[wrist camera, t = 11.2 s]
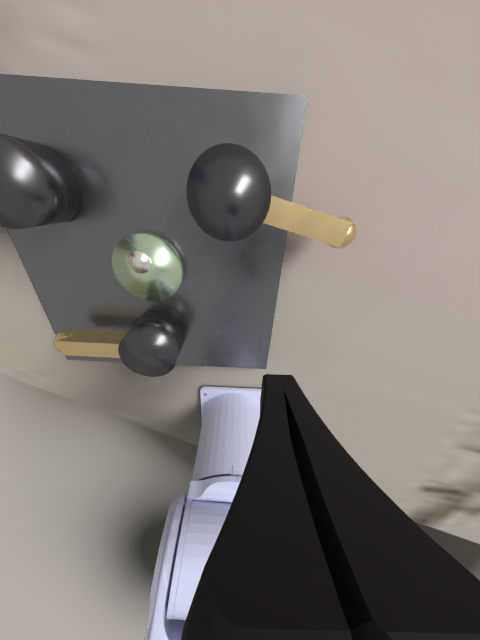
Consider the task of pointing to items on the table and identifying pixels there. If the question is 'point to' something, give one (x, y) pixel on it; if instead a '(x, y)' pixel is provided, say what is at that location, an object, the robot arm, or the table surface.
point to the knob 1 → (34, 185)
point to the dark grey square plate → (154, 210)
